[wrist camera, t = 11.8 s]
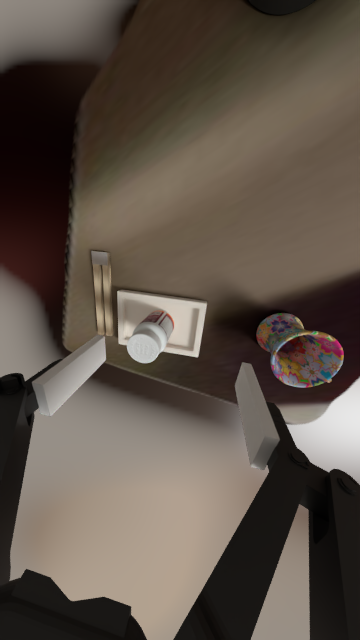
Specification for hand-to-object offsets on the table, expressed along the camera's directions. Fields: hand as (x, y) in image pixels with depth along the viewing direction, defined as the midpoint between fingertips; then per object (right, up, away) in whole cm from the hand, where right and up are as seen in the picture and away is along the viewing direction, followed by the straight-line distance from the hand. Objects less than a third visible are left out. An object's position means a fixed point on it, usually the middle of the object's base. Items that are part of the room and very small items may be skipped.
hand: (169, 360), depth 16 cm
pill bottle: (-3, +3, +21) cm, 21 cm away
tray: (-3, +3, +21) cm, 22 cm away
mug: (+22, +1, +18) cm, 28 cm away
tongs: (-15, +9, +21) cm, 28 cm away
